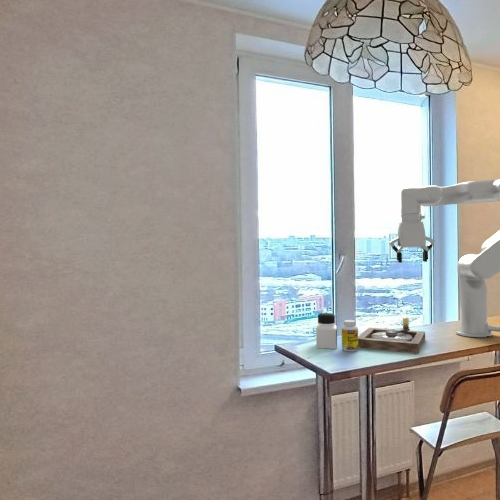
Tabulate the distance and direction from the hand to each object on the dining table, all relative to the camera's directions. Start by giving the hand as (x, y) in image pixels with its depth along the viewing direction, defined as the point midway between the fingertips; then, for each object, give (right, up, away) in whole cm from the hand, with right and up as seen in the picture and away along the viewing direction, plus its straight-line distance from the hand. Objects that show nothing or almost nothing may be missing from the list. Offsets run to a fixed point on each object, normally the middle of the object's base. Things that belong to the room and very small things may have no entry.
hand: (412, 261), depth 174 cm
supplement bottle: (-30, -30, -21) cm, 47 cm away
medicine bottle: (-37, -30, -15) cm, 50 cm away
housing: (-13, -30, -14) cm, 35 cm away
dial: (-12, -28, -13) cm, 33 cm away
